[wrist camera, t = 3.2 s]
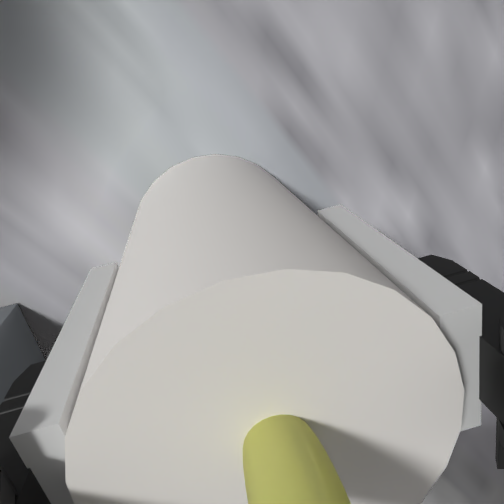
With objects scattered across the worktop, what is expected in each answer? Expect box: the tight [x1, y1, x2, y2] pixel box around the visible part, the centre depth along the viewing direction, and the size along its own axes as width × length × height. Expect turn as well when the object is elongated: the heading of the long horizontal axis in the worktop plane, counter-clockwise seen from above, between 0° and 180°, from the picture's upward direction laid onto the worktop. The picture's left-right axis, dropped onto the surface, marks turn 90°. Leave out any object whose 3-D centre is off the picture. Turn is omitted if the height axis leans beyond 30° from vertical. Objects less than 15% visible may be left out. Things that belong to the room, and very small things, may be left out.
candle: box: [65, 154, 464, 504], centre depth 9 cm, size 6×6×15 cm
